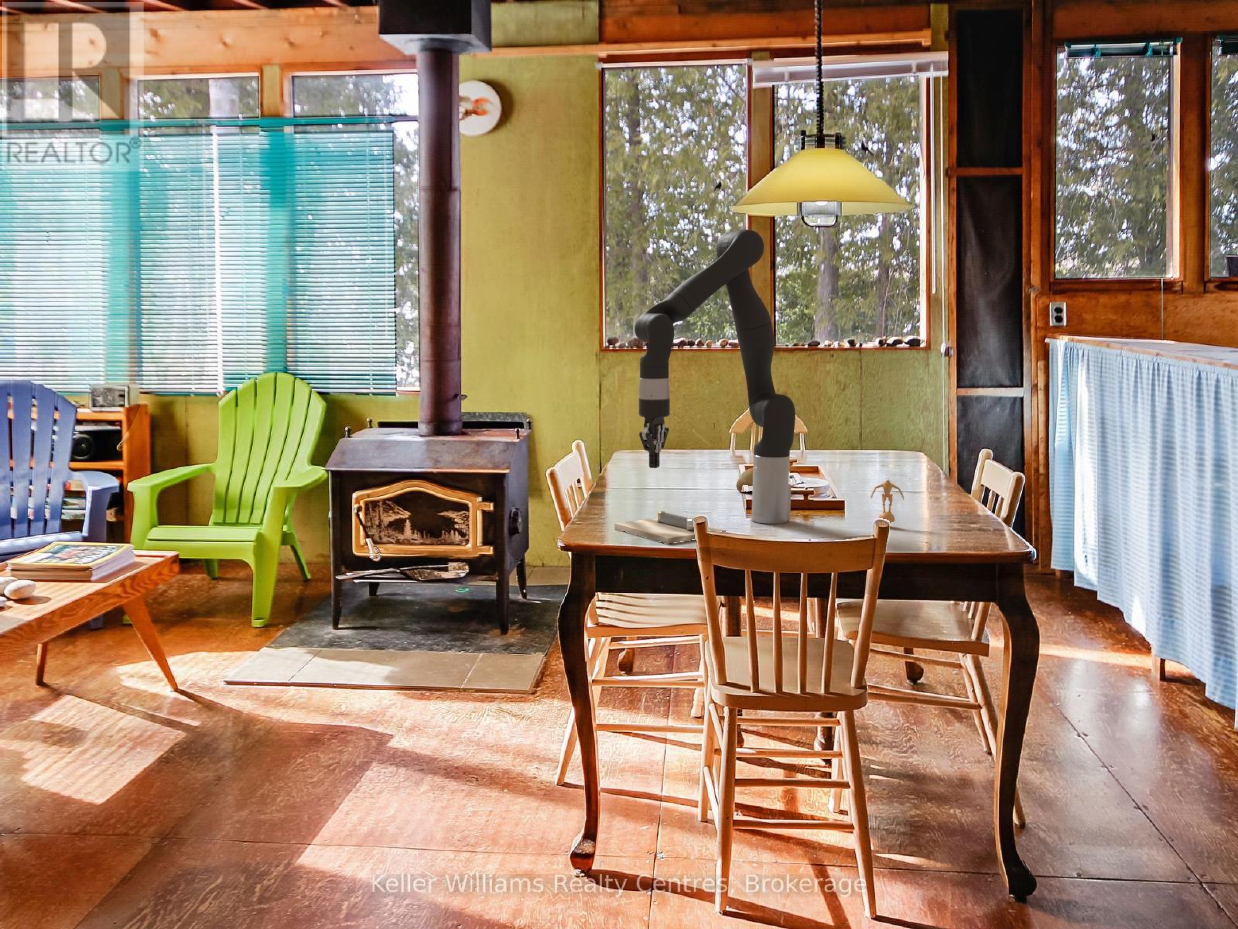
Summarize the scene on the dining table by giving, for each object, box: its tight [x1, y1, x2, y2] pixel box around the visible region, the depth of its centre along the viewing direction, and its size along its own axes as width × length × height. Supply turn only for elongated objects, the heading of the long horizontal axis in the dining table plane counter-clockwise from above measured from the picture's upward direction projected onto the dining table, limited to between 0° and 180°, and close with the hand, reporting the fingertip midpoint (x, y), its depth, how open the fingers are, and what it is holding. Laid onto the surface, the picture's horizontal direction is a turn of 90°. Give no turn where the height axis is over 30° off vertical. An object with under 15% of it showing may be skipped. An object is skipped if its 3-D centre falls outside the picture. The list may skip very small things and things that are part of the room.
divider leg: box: [657, 510, 695, 530], centre depth 272 cm, size 14×3×2 cm, turn 38°
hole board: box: [614, 517, 727, 545], centre depth 272 cm, size 18×21×2 cm
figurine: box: [870, 479, 905, 523], centre depth 284 cm, size 8×6×12 cm
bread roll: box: [735, 467, 753, 492], centre depth 334 cm, size 10×15×8 cm, turn 92°
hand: (654, 467), depth 271 cm, fingers closed
